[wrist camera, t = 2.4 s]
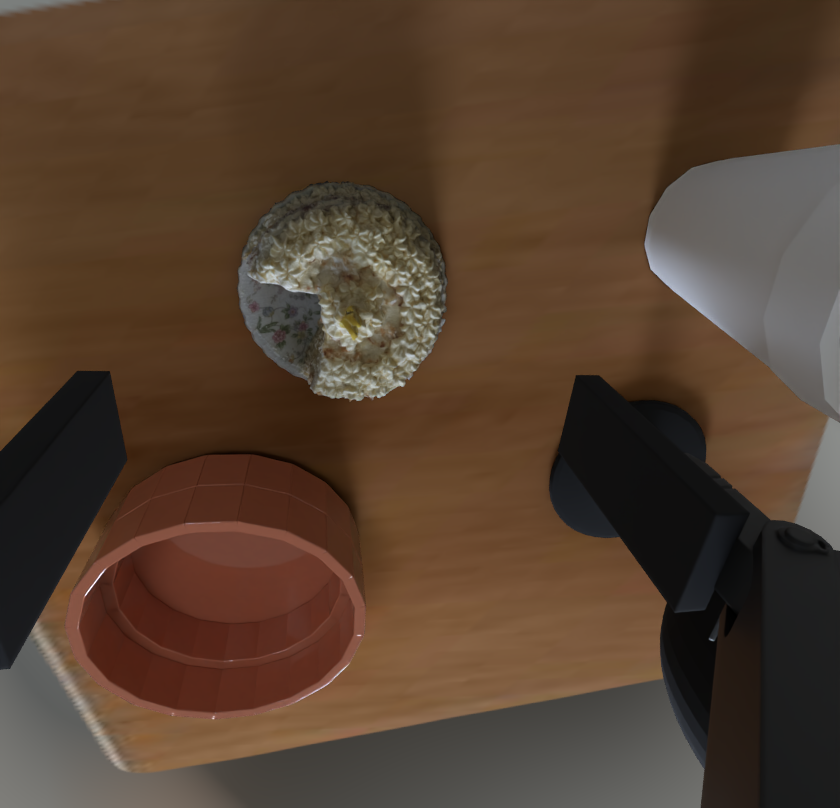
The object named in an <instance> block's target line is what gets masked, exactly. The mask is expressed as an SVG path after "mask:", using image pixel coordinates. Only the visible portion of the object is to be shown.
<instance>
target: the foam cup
mask: <svg viewBox="0 0 840 808" xmlns="http://www.w3.org/2000/svg"><path fill="white" fill-rule="evenodd" d="M644 245H645V249H646V253H647V257H648V261H649V265H650V269H651V270H652V271H653V272H654V273H655V274H656V275H657V276H658V277H659V278H660V279H661V280H662V281H663V282H664V283H665V284H666V285H667V286H669V287H670V288H671V289H672V290H673V291H674V292H675V293H677V294H678V295H679V296H680V297H682V298H683V299H684V300H685V301H687V302H688V303H689V304H690V305H692V306H693V307H694V308H696V309H697V310H698V311H699V312H701V313H702V314H703V315H704V316H706V317H707V318H708V319H709V320H711V321H712V322H713V323H714V324H716V325H717V326H718V327H719V328H721V329H722V330H723V331H724V332H726V333H727V334H728V335H729V336H731V337H732V338H733V339H734V340H736V341H737V342H738V343H739V344H741V345H742V346H743V347H744V348H746V349H747V350H748V351H749V352H751V353H752V354H753V355H754V356H756V357H757V358H758V359H759V360H761V361H762V362H763V363H765V364H766V365H767V366H768V367H770V368H771V370H772V371H773V372H774V373H775V374H776V375H777V376H778V377H779V378H780V379H781V380H782V381H783V382H784V383H785V384H786V385H787V386H788V387H789V388H790V389H791V390H792V391H793V393H794V394H795V395H796V396H797V397H798V398H799V399H800V400H802V401H804V402H805V403H807V404H809V405H810V406H812V407H814V408H816V409H817V410H819V411H821V412H822V413H824V414H826V415H828V416H829V417H831V418H833V419H835V420H836V421H838V422H840V144H839V145H831V146H823V147H815V148H808V149H800V150H792V151H785V152H777V153H769V154H761V155H754V156H746V157H738V158H731V159H726V160H719V161H715V162H711V163H708V164H704V165H700V166H696V167H693V168H691V169H690V170H688V171H687V172H686V173H685V174H683V175H682V176H681V177H680V178H678V179H677V180H676V181H674V182H673V183H672V184H671V185H669V186H668V187H667V188H666V190H665V191H664V193H663V195H662V196H661V198H660V199H659V201H658V203H657V204H656V206H655V208H654V209H653V211H652V213H651V214H650V217H649V222H648V227H647V233H646V238H645V243H644Z"/></svg>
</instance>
